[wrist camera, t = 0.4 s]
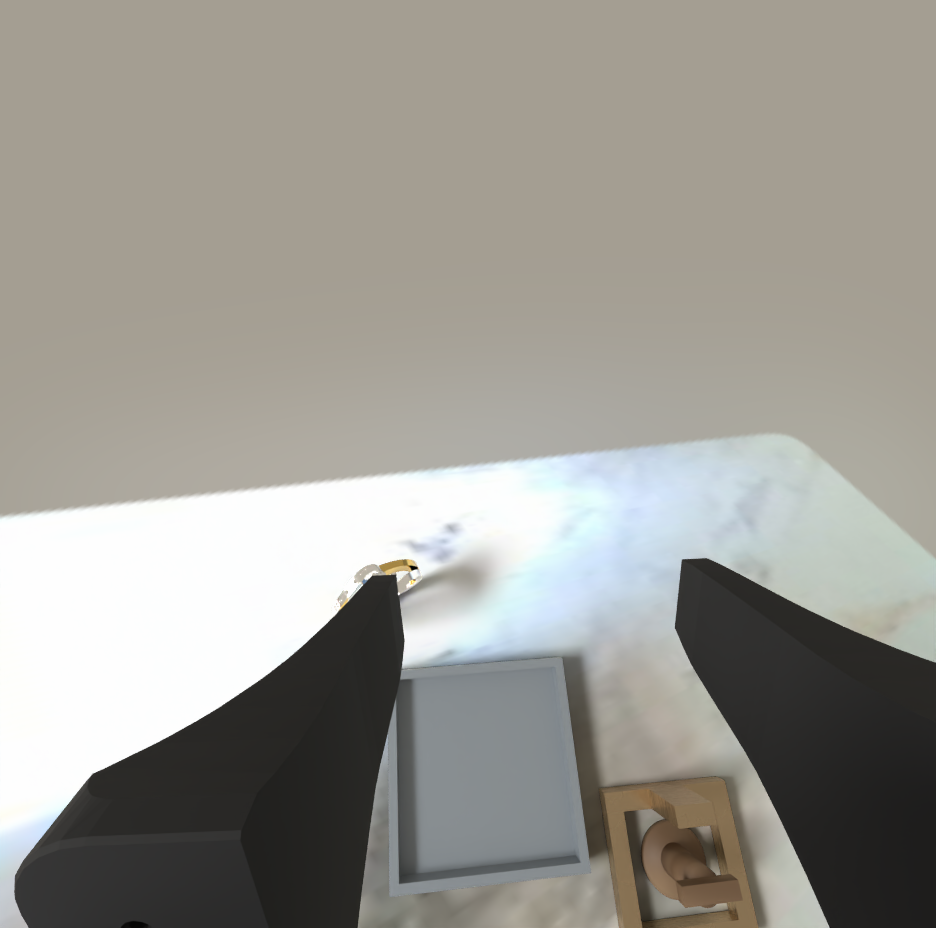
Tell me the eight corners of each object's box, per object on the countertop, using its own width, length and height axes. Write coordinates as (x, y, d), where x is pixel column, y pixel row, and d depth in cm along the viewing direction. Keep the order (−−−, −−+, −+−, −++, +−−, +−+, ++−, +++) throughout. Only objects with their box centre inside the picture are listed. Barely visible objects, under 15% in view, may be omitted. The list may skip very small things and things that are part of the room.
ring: (414, 562, 40) (408, 542, 32) (431, 597, 39) (429, 585, 31) (336, 601, 38) (311, 590, 31) (352, 638, 37) (330, 636, 30)
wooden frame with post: (750, 930, 32) (805, 981, 27) (622, 947, 31) (655, 1002, 26) (715, 776, 35) (759, 796, 30) (598, 788, 34) (624, 811, 30)
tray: (582, 860, 33) (591, 872, 31) (392, 882, 32) (389, 896, 30) (556, 657, 38) (562, 657, 36) (390, 670, 37) (387, 671, 35)
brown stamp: (709, 892, 33) (757, 936, 28) (648, 900, 32) (685, 945, 27) (693, 816, 34) (736, 845, 29) (635, 822, 34) (668, 852, 29)
